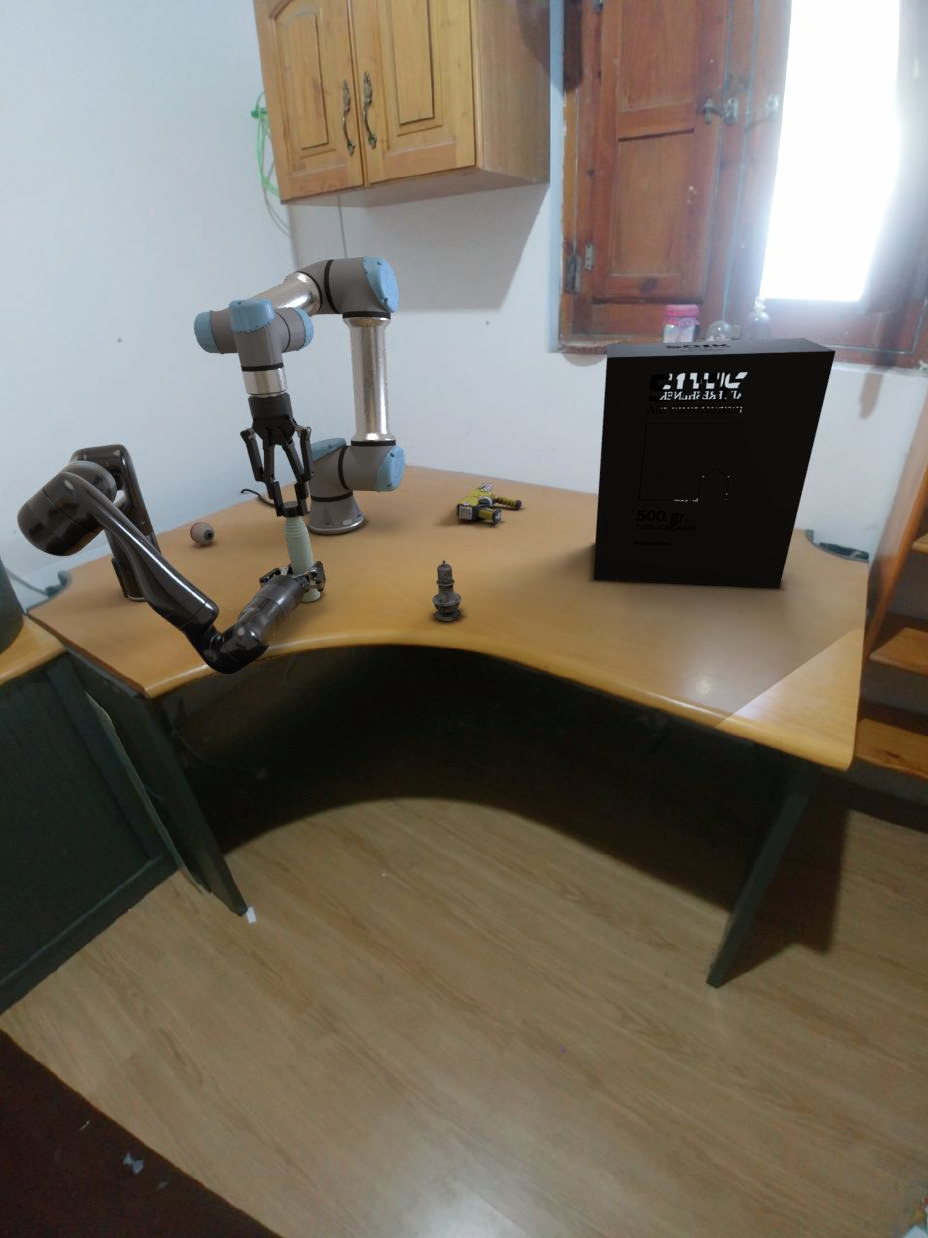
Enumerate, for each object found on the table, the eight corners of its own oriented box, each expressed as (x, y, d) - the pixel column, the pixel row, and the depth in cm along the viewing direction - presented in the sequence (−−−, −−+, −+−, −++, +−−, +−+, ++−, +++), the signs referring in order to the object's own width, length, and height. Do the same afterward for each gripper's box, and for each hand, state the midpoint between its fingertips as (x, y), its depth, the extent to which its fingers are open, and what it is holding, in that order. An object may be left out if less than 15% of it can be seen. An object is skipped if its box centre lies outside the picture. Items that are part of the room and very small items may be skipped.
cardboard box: (759, 548, 141) (803, 338, 119) (779, 587, 124) (835, 350, 102) (595, 543, 149) (607, 344, 126) (593, 579, 132) (607, 357, 109)
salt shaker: (459, 622, 119) (455, 567, 113) (430, 620, 120) (425, 566, 114) (464, 608, 124) (461, 554, 118) (437, 606, 125) (432, 553, 119)
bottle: (315, 589, 135) (297, 501, 125) (323, 597, 132) (306, 507, 121) (295, 596, 133) (275, 507, 123) (303, 604, 129) (284, 513, 119)
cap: (307, 513, 122) (305, 503, 121) (287, 519, 120) (285, 509, 119) (297, 508, 125) (295, 499, 124) (277, 514, 123) (275, 504, 122)
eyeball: (203, 550, 158) (197, 528, 155) (188, 545, 161) (182, 524, 158) (222, 541, 162) (216, 520, 159) (207, 538, 166) (201, 517, 163)
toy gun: (529, 487, 179) (482, 480, 183) (508, 512, 159) (455, 503, 163) (528, 503, 181) (481, 495, 185) (506, 528, 161) (454, 519, 165)
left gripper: (307, 585, 114) (337, 549, 128) (237, 583, 116) (274, 548, 130) (314, 619, 118) (342, 580, 132) (246, 617, 120) (281, 579, 134)
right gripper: (319, 388, 113) (338, 507, 125) (232, 391, 115) (259, 508, 127) (306, 395, 107) (328, 520, 118) (214, 398, 109) (244, 521, 120)
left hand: (308, 564), depth 131 cm, fingers closed on bottle, 4 cm apart
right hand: (292, 513), depth 123 cm, fingers closed on cap, 4 cm apart
